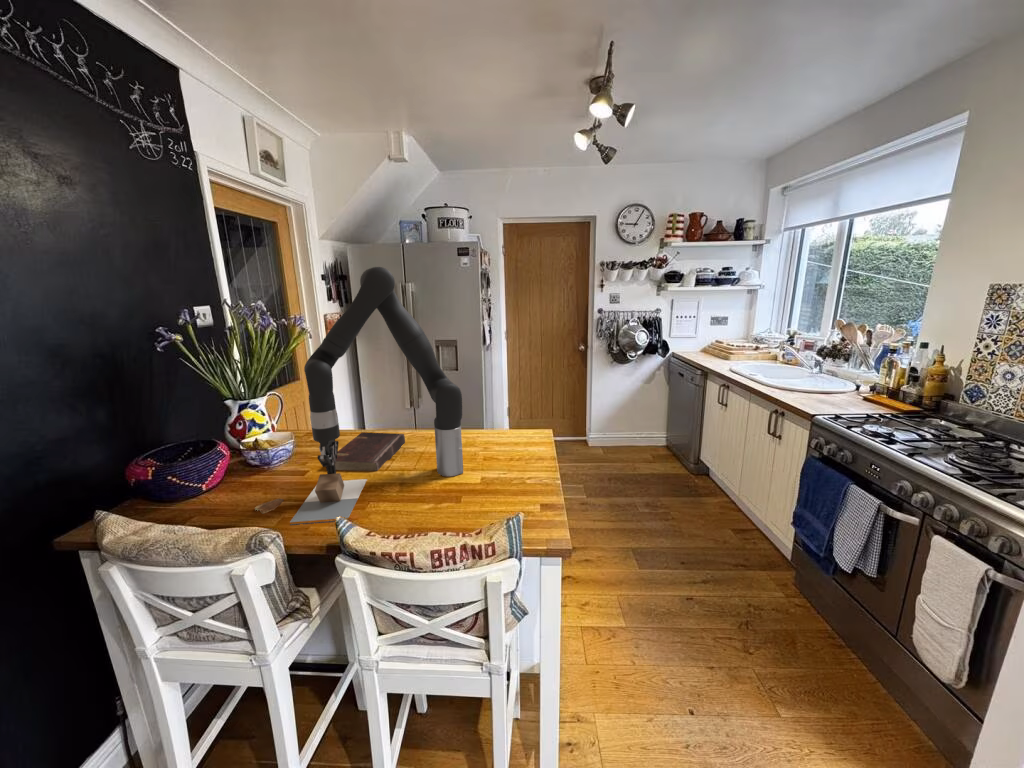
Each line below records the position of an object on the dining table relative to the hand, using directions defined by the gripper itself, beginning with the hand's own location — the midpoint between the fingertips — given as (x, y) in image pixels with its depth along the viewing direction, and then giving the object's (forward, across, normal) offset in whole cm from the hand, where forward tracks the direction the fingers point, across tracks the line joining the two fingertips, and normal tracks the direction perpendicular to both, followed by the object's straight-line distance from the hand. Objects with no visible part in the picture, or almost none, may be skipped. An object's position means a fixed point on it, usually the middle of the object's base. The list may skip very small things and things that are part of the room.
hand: (332, 475), depth 128 cm
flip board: (+8, -2, 0) cm, 8 cm away
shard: (+8, -2, +18) cm, 20 cm away
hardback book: (+8, +32, -4) cm, 33 cm away
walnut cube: (+1, 0, 0) cm, 1 cm away
